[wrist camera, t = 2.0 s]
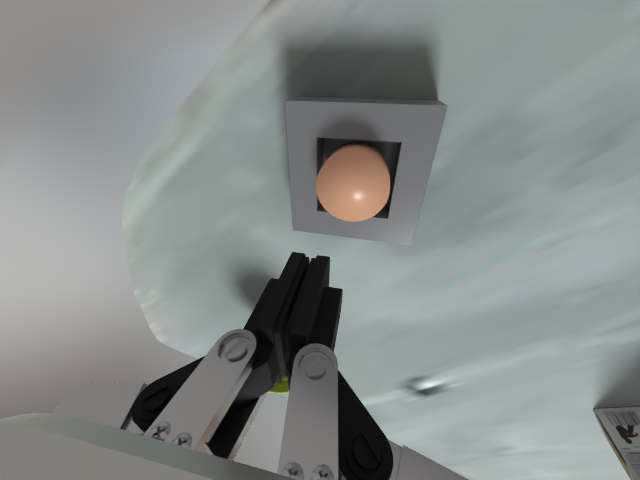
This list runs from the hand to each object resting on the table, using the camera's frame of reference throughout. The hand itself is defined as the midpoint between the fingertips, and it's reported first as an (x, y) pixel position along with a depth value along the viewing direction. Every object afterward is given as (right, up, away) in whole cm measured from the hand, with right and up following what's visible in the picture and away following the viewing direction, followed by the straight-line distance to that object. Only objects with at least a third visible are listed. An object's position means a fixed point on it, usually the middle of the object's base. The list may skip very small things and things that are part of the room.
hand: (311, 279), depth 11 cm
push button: (+4, +8, +11) cm, 14 cm away
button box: (+4, +9, +14) cm, 17 cm away
